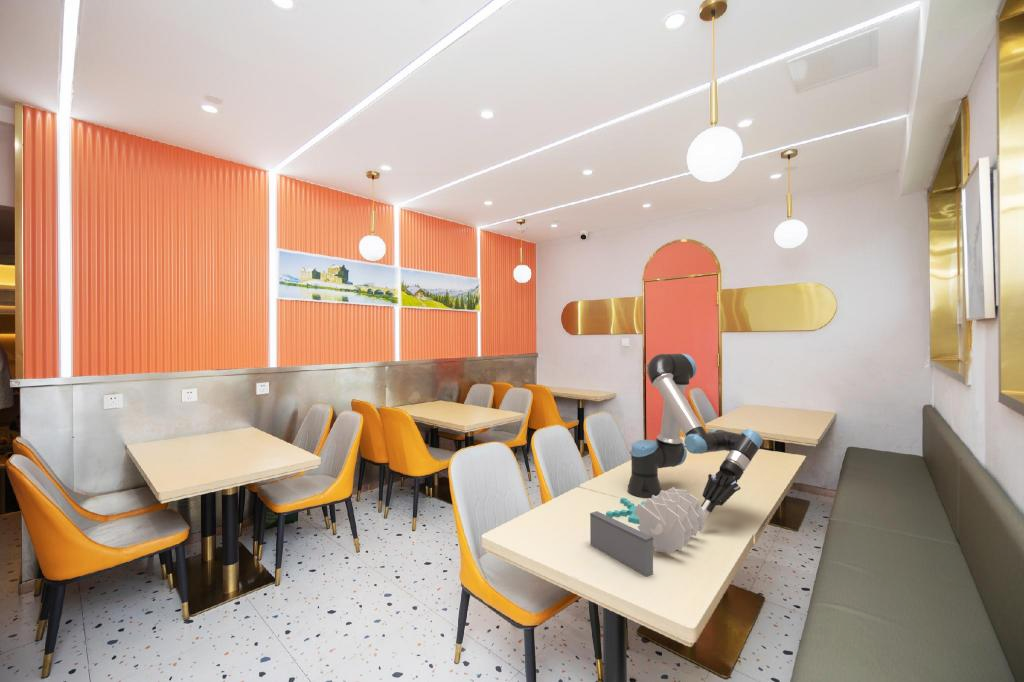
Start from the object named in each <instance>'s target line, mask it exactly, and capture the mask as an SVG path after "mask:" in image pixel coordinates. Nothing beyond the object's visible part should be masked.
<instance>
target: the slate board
mask: <svg viewBox="0 0 1024 682" xmlns="http://www.w3.org/2000/svg"><path fill="white" fill-rule="evenodd" d="M589 516H590V517H589V518H590V521H589V522H590V528H589V529H590V531H589V532H590V544H589V545H590V546H592V547H594V548H595V549H597V550H599V551H601V552H602V553H604V554H606V555H608V556H609V557H610V558H613V559H615V560H616V561H618V562H620V563H622V564H623V565H625V566H626V567H628V568H630V569H632V570H634V571H636V572H638V573H639V574H641V575H643V576H644V577H649V576H651V575H653V574H654V547H653V537H651V536H649V535H647V534H645V533H643V532H641V531H640V530H639V529H636V528H634V527H632V526H630V525H627V524H625V523H624V522H621V521H619V520H618V519H615V518H613V517H612V518H611V517H608V516H606V514H603V513H602V512H600V511H594V512H593V511H592V512H589Z"/></svg>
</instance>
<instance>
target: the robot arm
mask: <svg viewBox="0 0 1024 682" xmlns="http://www.w3.org/2000/svg"><path fill="white" fill-rule="evenodd" d="M647 375H648V378H649V381H650V383H651V384H652V387H654V388H657V391H659V394H660V395H661V397H662V399H663V407H662V414H661V424H660V425H661V426H660V433H659V434H658V435H656V438H655V440H653V439H641V440H636V441H635V442H633V443H632V444H631V450H630V454H631V456H630V457H631V459H630V460H631V464H630V465H631V474H630V478H629V481H628V484H627V493H629V494H630V495H633V496H635V497H639V498H644V499H645V498H646V499H648V498H650V499H651V497H652V495H654V496H657V495H659V493H660V491H661V490H663V489H662V487H661V483H660V480H659V476H658V475H659V473H658V472H659V469H664V468H665V469H666V468H675V467H677V466H681V465H682V464H684V462H685V461H686V459H687V456H688V455H687V454H688V452H689V453H690V454H694V455H696V454H697V455H703V454H705V453H707V454H708V453H715V452H724V451H726V452H728V453H727V456H725V459H724V460H723V461H722V463H721V465H720V466H719V470H718V471H716V473H715V474H711V473H709V474H708V477H707V482H706V483H705V487H704V490H703V492H702V497H703V498H704V501H703V502H702V504H700V506H701V507H702V509H703V510H704V512H705V514H704V521H705V520H706V519H707V517H708V516H709V514H710V513H712V512H713V511H714V509H715V508H716V506H720V507H722V506H723V505H724V504H726V503H727V501H728V500H729V499H730V498H731V497H732V496H733V495H734V494H735V493H736V492H738V491H740V490H741V489H742V488H741V487H740V485H739V484H738V481H739V480H740V479H741V478H742V476H743V474H744V472H745V471H746V470H747V468H748V467H749V465H750V463H751V462H752V460H753V458H754V457H755V455H756V454H757V453H758V452H759V450H760V448H761V446H762V444H763V442H764V441H763V440H764V439H763V436H761V435H760V433H758V432H756V431H755V430H754V429H749V428H746V429H744V430H742V431H741V433H735V432H731V431H726V430H724V429H713V430H712V431H710V432H707V431H706V430H705V428H704V426H703V425H702V423H701V422H700V421H699V419H698V417H697V416H696V414H695V412H694V411H693V409H692V408H691V406H690V404H689V403H688V401H687V399H686V398H685V392H686V391H685V390H686V387H688V386H690V380H691V379H694V376H695V375H697V364H696V362H695V360H694V359H693V357H692V356H691V355H689V354H685V353H679V352H678V353H658V354H656V355H655V356H653V357H651V359H650V361H649V362H648V365H647ZM681 430H682V432H683V434H684V435H685V438H684V443H683V439H682V438H681V437H680V435H681Z"/></svg>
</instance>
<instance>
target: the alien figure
mask: <svg viewBox="0 0 1024 682" xmlns="http://www.w3.org/2000/svg"><path fill="white" fill-rule="evenodd" d="M619 501H620V502H619V503H620V504H623V506H624V507H627V510H626V509H621V510H618V509H617V510H616V509H615V510H614V511H610V510H608V511H606V513H605V515H606V516H608V517H611V518H613V517H615V518H620V517H624V518H625V517H628V519H627V522H628V523H633V524H637V525H640V523H639V518H638V517H637V516H636V515H635V514H634V511H635V509H636V507H637V506H638V505H635V503H633V502H631V500H628V498H626V497H621V498H620V500H619ZM645 503H646V501H641V502H640V504H641V505H643V504H645Z"/></svg>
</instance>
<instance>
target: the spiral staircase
mask: <svg viewBox="0 0 1024 682" xmlns="http://www.w3.org/2000/svg"><path fill="white" fill-rule="evenodd" d="M645 502H646V503H645V504H643V505H641V502H639V503H638V504H637V505H636V506H637V507H636V509H635V511H634V514H635V515H636V516H637V517H638V518H639V523H640V524H638V526H637V528H638V529H637V530H639V531H641V532H643V533H645V534H647V535H649V536H651V537H653V549H654V551H655V552H656V553H657V552H660V553H661V552H662V553H663V552H665V553H667V555H668V556H670V555H672V554H673V553H674V552H675V551H679V552H681V551H682V549H683V546H685V547H687V546H688V543H689V542H691V540H692V539H691V537H693V536H694V537H697V535H698V532H700V533H702V531H703V527H705V520H704V514H705V512H704V510H703V509H702V507H701V503H700V499H698V498H697V497H695V496H694V495H692V494H690V493H689V492H688V489H687V490H686V489H678V488H675V486H672V487H670V488H669V489H666V490H663V489H662V490H661V491H660V493H659V495H657V496H654V495H652V497H651V498H647V500H646V501H645Z"/></svg>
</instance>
